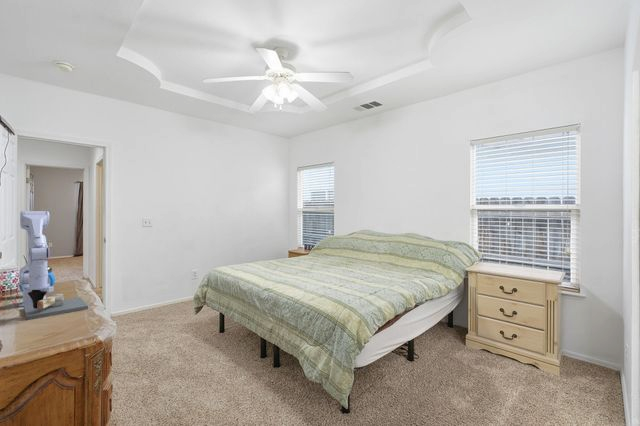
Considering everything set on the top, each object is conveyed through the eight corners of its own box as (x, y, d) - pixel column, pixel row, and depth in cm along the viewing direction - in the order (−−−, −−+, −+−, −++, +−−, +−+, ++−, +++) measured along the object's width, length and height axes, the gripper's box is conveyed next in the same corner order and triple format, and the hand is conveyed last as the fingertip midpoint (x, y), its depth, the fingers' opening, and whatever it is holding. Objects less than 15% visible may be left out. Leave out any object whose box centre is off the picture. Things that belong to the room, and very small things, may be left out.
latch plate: (23, 308, 135) (23, 305, 135) (80, 299, 150) (80, 296, 150) (26, 320, 122) (26, 316, 122) (87, 309, 136) (87, 305, 136)
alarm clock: (18, 298, 151) (18, 268, 151) (21, 295, 156) (21, 266, 156) (53, 294, 158) (53, 266, 158) (54, 292, 164) (55, 264, 164)
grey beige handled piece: (53, 303, 138) (53, 293, 138) (65, 303, 139) (66, 293, 139) (31, 312, 125) (31, 302, 125) (45, 312, 126) (45, 301, 126)
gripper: (61, 274, 130) (61, 306, 130) (35, 272, 133) (35, 303, 133) (43, 278, 123) (42, 311, 123) (16, 276, 127) (16, 308, 127)
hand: (37, 307), depth 128 cm, fingers closed
